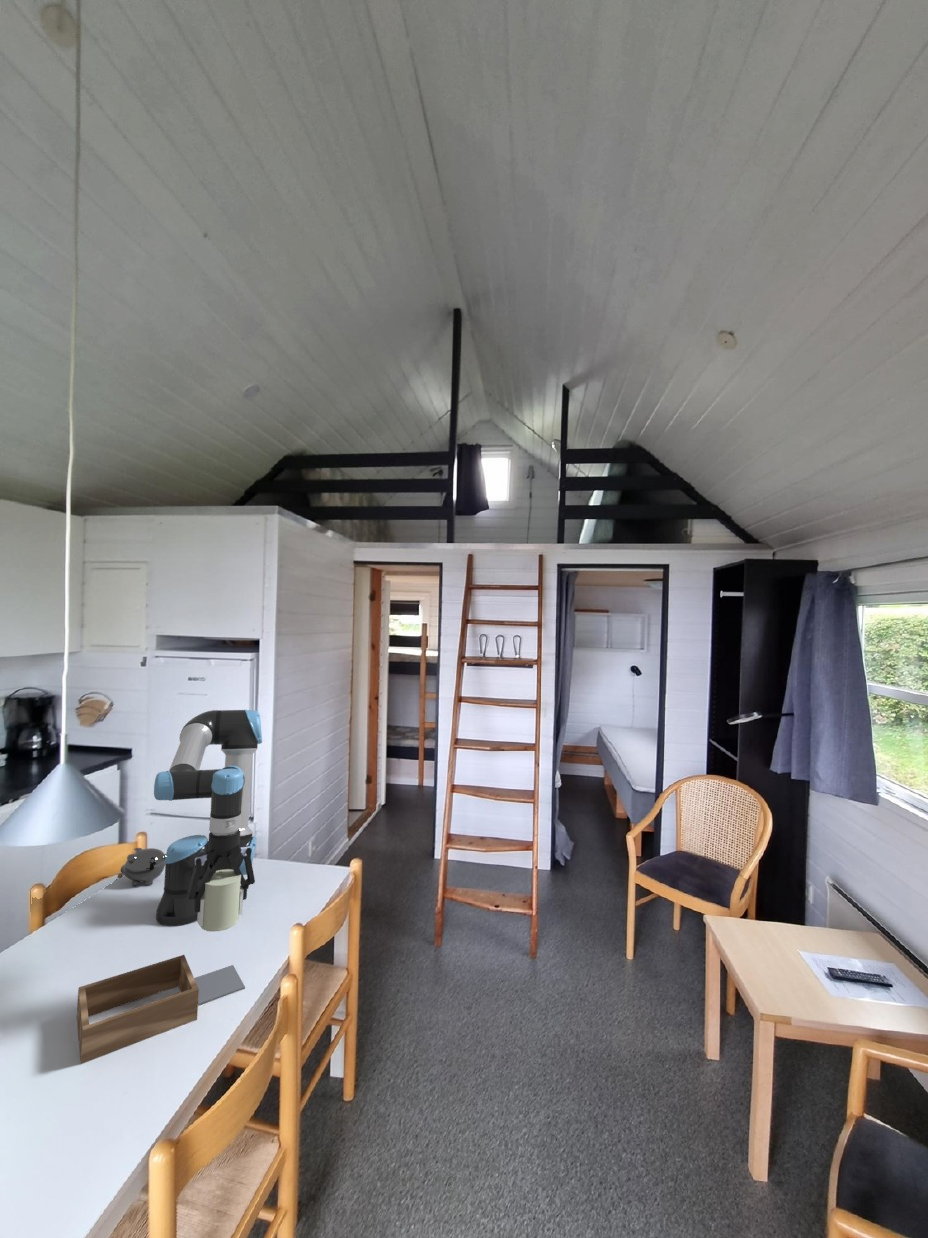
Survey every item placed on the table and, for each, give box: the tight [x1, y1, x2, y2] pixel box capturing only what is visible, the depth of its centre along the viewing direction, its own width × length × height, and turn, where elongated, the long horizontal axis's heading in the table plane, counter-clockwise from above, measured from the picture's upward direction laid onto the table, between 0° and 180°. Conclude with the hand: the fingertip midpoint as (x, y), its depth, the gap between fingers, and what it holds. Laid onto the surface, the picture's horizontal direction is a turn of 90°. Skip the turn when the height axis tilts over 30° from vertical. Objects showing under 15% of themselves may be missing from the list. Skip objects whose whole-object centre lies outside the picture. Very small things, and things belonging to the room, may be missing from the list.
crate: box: [76, 954, 199, 1065], centre depth 125 cm, size 16×22×7 cm
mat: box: [194, 964, 246, 1007], centre depth 137 cm, size 11×11×1 cm
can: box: [199, 869, 241, 932], centre depth 138 cm, size 9×9×12 cm
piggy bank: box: [120, 847, 166, 887], centre depth 189 cm, size 11×15×12 cm
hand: (220, 917), depth 138 cm, fingers closed on can, 9 cm apart
